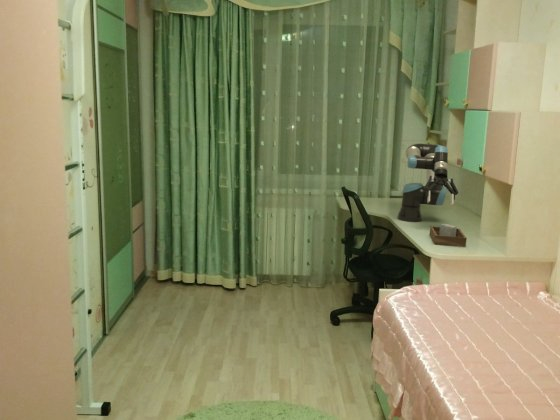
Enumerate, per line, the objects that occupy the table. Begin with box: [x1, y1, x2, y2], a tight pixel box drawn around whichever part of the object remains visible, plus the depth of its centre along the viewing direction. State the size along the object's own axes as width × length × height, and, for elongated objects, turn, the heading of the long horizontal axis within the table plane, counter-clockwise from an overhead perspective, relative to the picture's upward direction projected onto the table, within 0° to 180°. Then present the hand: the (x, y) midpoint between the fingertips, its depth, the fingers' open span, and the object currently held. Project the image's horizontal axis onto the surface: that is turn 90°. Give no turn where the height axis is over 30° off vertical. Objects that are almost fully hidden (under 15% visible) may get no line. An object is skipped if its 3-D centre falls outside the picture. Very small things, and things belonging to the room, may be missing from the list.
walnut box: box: [429, 226, 468, 248], centre depth 292 cm, size 22×16×5 cm
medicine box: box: [439, 223, 457, 237], centre depth 291 cm, size 8×4×9 cm, turn 35°
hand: (440, 203), depth 309 cm, fingers open, 13 cm apart
